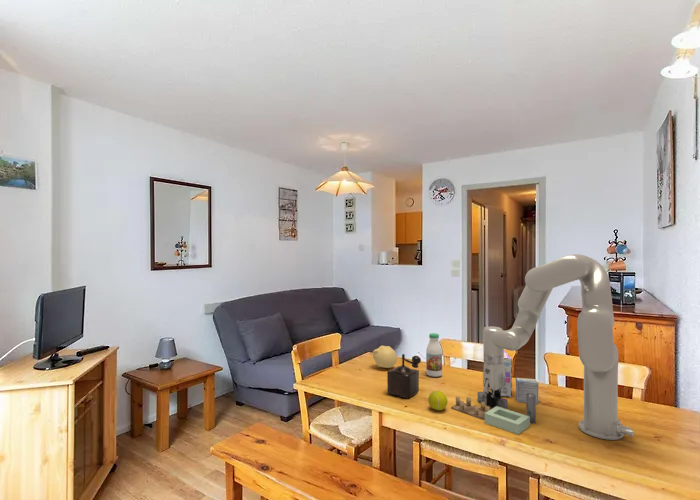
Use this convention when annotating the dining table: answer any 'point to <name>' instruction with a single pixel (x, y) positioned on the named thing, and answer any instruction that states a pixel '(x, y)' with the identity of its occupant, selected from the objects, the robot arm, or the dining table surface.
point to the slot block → (507, 420)
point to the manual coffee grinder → (404, 379)
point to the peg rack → (471, 408)
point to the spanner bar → (498, 401)
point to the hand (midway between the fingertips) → (493, 404)
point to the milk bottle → (434, 356)
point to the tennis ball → (437, 400)
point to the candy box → (507, 376)
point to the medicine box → (526, 389)
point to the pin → (531, 407)
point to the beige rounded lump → (385, 356)
